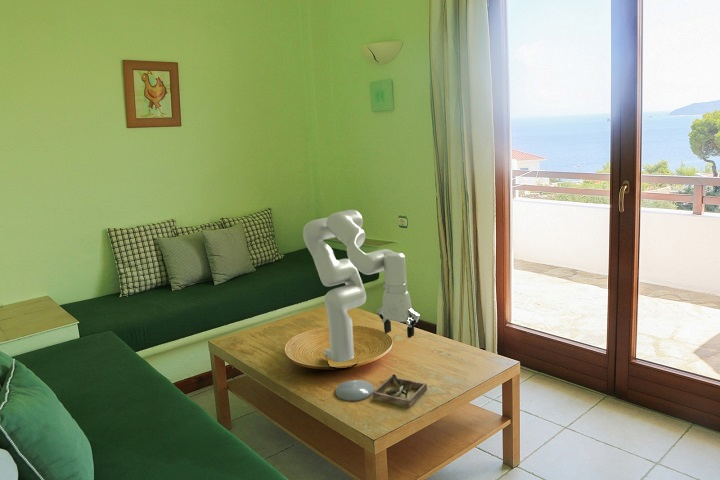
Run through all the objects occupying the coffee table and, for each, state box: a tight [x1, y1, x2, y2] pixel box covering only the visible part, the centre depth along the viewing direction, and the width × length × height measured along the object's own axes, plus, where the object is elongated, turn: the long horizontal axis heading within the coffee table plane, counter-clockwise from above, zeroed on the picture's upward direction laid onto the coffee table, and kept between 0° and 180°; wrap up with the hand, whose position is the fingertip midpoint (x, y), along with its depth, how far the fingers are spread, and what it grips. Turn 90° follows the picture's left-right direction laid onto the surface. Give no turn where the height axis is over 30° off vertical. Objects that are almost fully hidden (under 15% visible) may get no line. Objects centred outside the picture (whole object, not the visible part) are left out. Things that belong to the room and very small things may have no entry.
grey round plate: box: [335, 379, 375, 402], centre depth 214 cm, size 14×14×1 cm
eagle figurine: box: [385, 373, 413, 399], centre depth 210 cm, size 8×7×9 cm
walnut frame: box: [372, 375, 428, 409], centre depth 210 cm, size 15×14×2 cm
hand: (399, 334), depth 208 cm, fingers open, 9 cm apart
